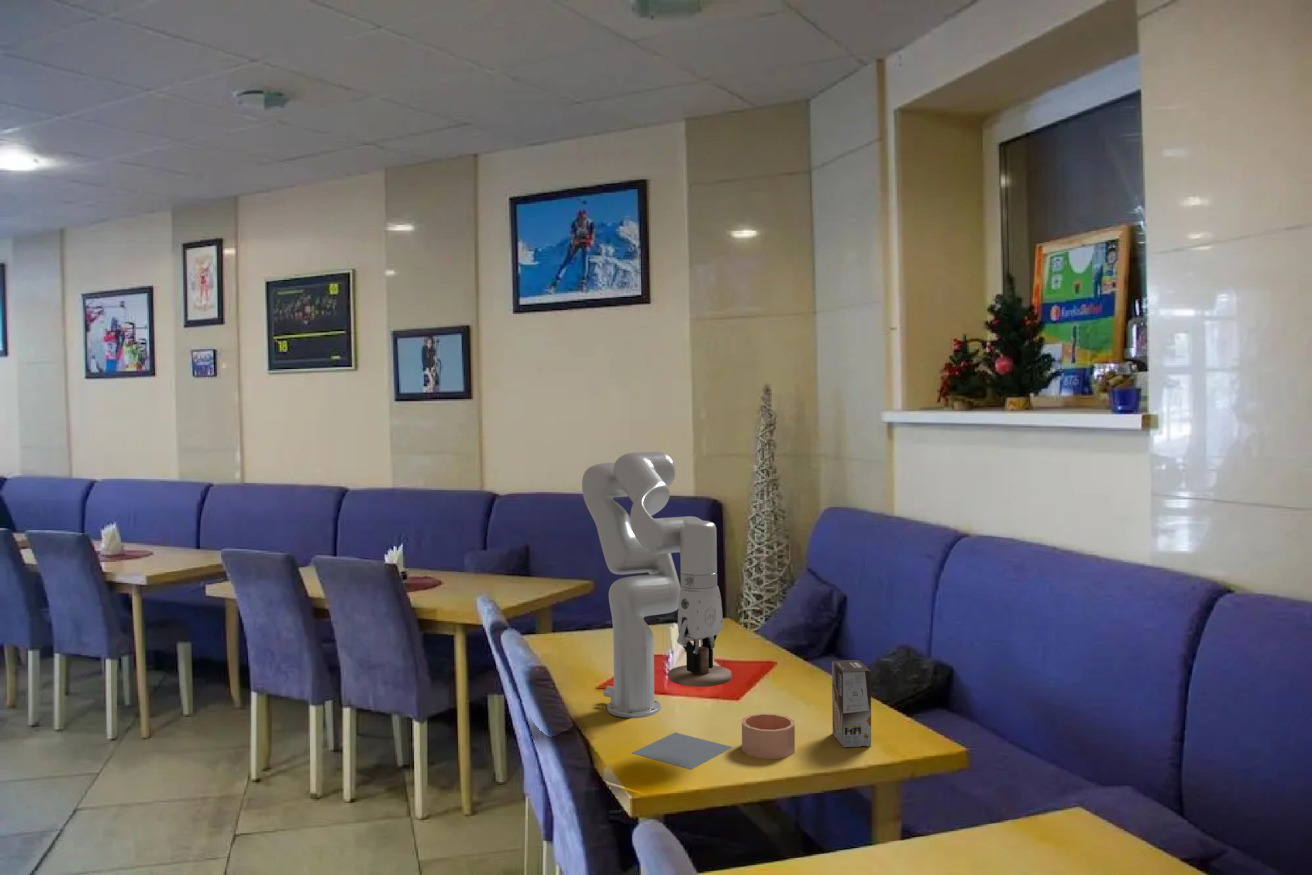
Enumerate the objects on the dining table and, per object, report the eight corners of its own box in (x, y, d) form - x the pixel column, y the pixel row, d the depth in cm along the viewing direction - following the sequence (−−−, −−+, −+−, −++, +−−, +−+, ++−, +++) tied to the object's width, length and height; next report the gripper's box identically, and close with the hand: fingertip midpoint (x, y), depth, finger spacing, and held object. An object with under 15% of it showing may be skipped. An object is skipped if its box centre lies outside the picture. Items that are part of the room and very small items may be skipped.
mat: (631, 754, 194) (631, 752, 194) (675, 734, 206) (674, 732, 206) (691, 771, 185) (691, 769, 185) (732, 748, 197) (732, 746, 197)
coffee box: (872, 746, 197) (872, 670, 197) (842, 748, 197) (842, 671, 196) (859, 731, 206) (859, 659, 206) (830, 732, 206) (830, 660, 205)
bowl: (732, 752, 195) (732, 723, 194) (759, 737, 203) (759, 710, 203) (777, 764, 188) (777, 734, 188) (804, 748, 197) (803, 720, 196)
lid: (655, 679, 194) (655, 650, 193) (693, 665, 204) (692, 638, 204) (707, 690, 186) (707, 660, 185) (743, 675, 196) (743, 646, 196)
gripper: (689, 589, 185) (690, 681, 186) (736, 577, 198) (737, 663, 199) (659, 585, 190) (660, 675, 191) (707, 573, 203) (708, 658, 203)
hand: (699, 668), depth 195 cm, fingers closed on lid, 3 cm apart
